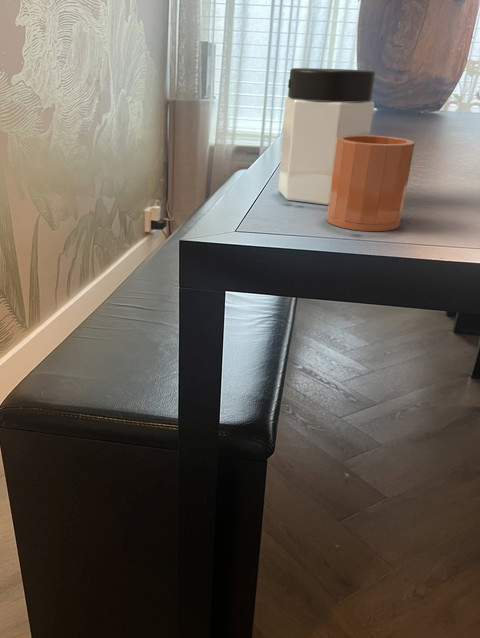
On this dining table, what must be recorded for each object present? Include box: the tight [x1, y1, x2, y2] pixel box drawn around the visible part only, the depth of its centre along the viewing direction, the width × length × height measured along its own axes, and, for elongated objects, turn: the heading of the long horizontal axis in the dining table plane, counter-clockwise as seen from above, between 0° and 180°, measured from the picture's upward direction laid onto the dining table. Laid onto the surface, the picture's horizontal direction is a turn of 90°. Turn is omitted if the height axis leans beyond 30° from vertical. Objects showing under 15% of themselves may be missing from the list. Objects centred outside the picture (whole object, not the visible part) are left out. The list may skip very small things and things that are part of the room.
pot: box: [326, 134, 416, 232], centre depth 53 cm, size 6×6×7 cm
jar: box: [277, 67, 376, 206], centre depth 61 cm, size 9×8×12 cm
